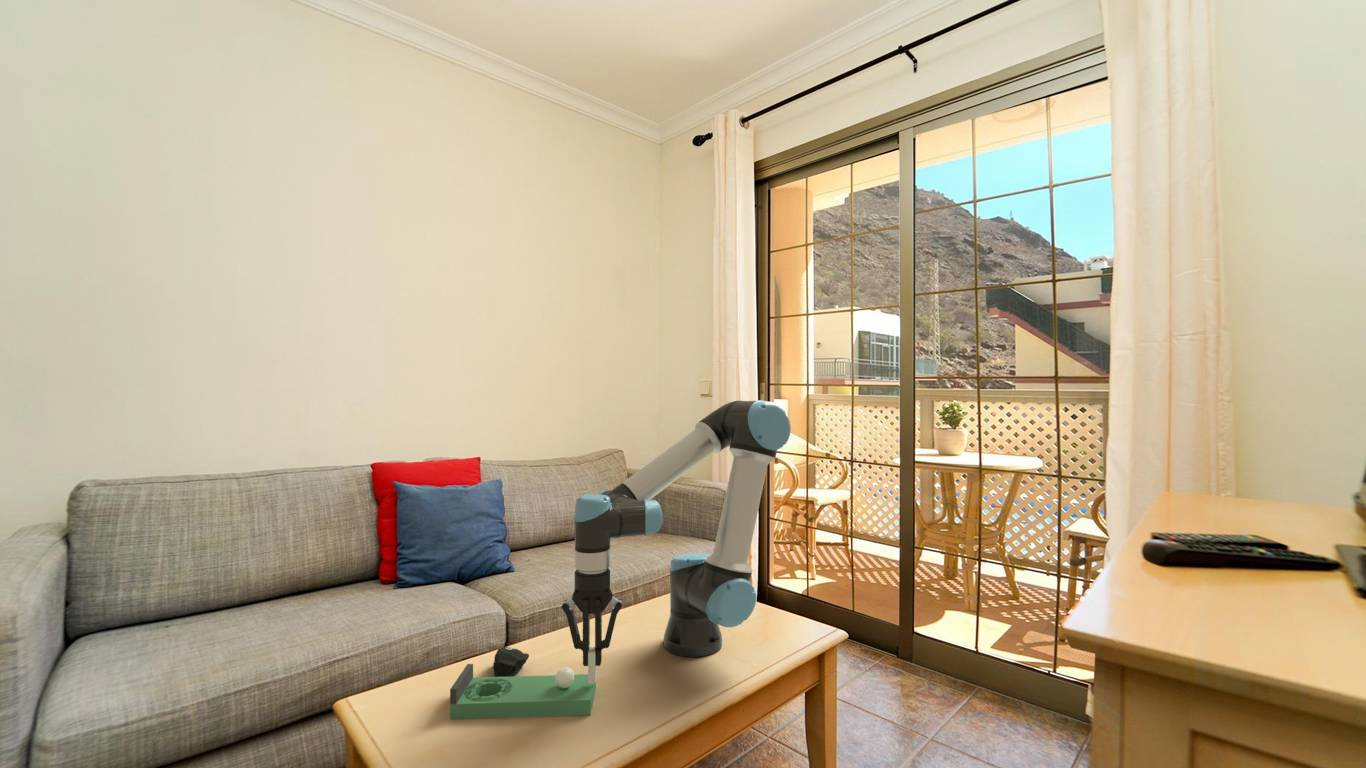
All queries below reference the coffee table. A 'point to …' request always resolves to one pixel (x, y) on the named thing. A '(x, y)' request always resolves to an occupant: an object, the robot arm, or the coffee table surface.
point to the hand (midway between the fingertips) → (592, 680)
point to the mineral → (508, 661)
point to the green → (518, 696)
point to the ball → (564, 677)
